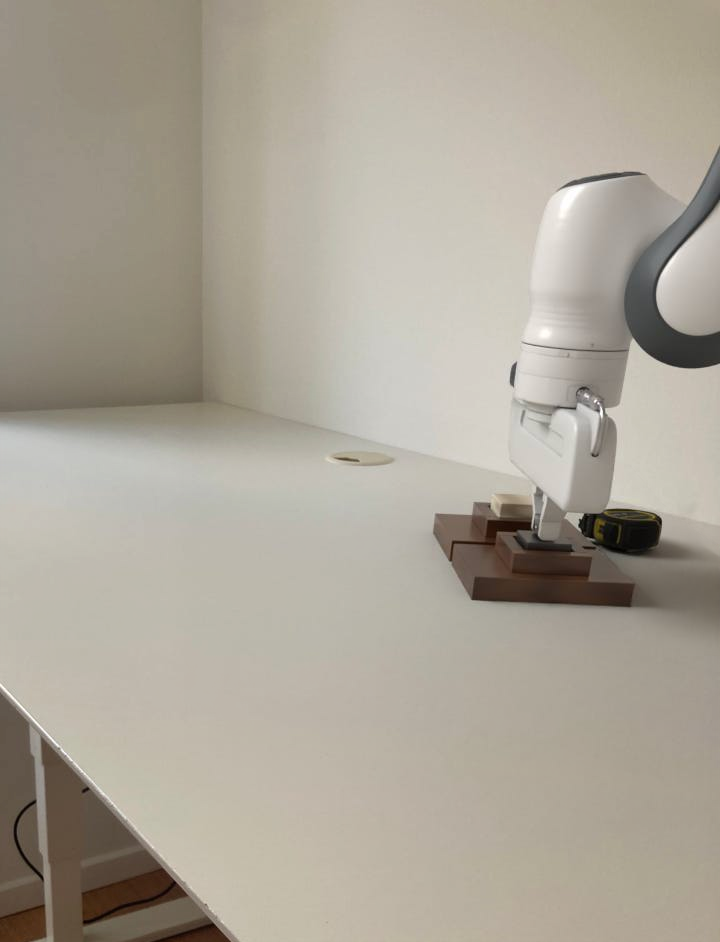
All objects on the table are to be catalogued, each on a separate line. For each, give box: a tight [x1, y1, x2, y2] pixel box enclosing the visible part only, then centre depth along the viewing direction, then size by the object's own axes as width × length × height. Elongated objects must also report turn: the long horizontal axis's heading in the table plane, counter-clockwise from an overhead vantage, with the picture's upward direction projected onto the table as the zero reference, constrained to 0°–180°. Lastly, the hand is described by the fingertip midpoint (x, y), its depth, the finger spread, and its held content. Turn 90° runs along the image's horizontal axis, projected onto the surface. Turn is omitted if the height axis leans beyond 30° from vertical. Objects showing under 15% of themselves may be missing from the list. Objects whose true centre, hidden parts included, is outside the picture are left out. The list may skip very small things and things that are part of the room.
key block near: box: [451, 532, 636, 608], centre depth 94 cm, size 14×10×4 cm
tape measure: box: [577, 508, 663, 553], centre depth 106 cm, size 7×7×4 cm
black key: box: [516, 530, 572, 552], centre depth 93 cm, size 4×4×2 cm
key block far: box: [432, 501, 597, 563], centre depth 104 cm, size 14×10×4 cm
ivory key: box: [490, 493, 533, 519], centre depth 103 cm, size 4×4×2 cm
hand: (544, 536), depth 93 cm, fingers closed
